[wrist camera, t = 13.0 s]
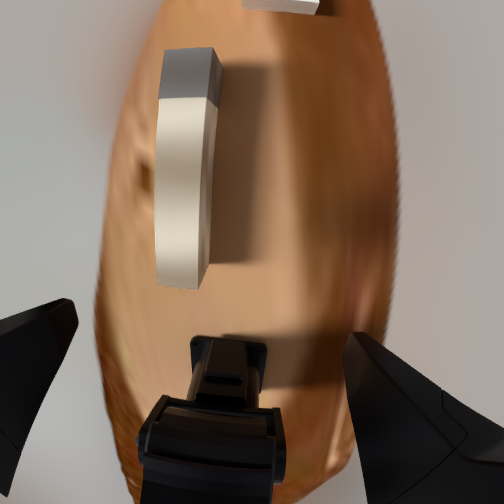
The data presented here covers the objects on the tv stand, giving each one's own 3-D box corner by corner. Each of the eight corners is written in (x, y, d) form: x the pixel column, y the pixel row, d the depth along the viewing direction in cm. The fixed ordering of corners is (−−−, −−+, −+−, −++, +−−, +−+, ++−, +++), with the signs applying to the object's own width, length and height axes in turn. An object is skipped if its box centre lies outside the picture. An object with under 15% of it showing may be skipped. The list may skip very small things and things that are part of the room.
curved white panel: (209, 264, 20) (198, 290, 16) (174, 260, 20) (156, 285, 16) (222, 67, 15) (212, 47, 11) (183, 68, 15) (164, 50, 11)
